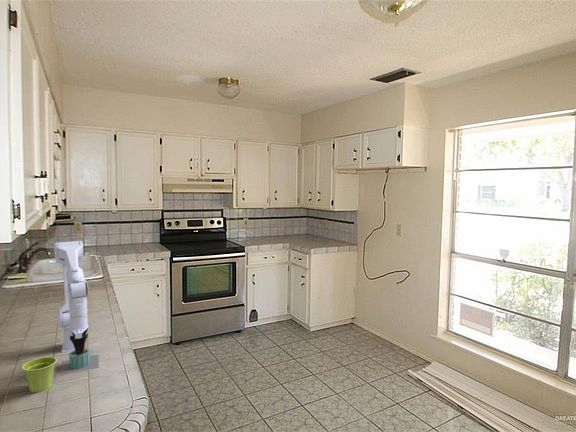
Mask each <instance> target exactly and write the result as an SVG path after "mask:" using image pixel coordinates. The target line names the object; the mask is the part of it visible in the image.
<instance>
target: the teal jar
mask: <svg viewBox="0 0 576 432" xmlns="http://www.w3.org/2000/svg"><path fill="white" fill-rule="evenodd" d="M68 356H69V359H68V360H69V362H70V368H72V369H79V368H84V367H86V366H88V365H89V364H91V356H92V354H91V349H90V348H86V350H85V354H82V355H76V352H75V350H73V351H70V352H69V354H68Z"/></svg>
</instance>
